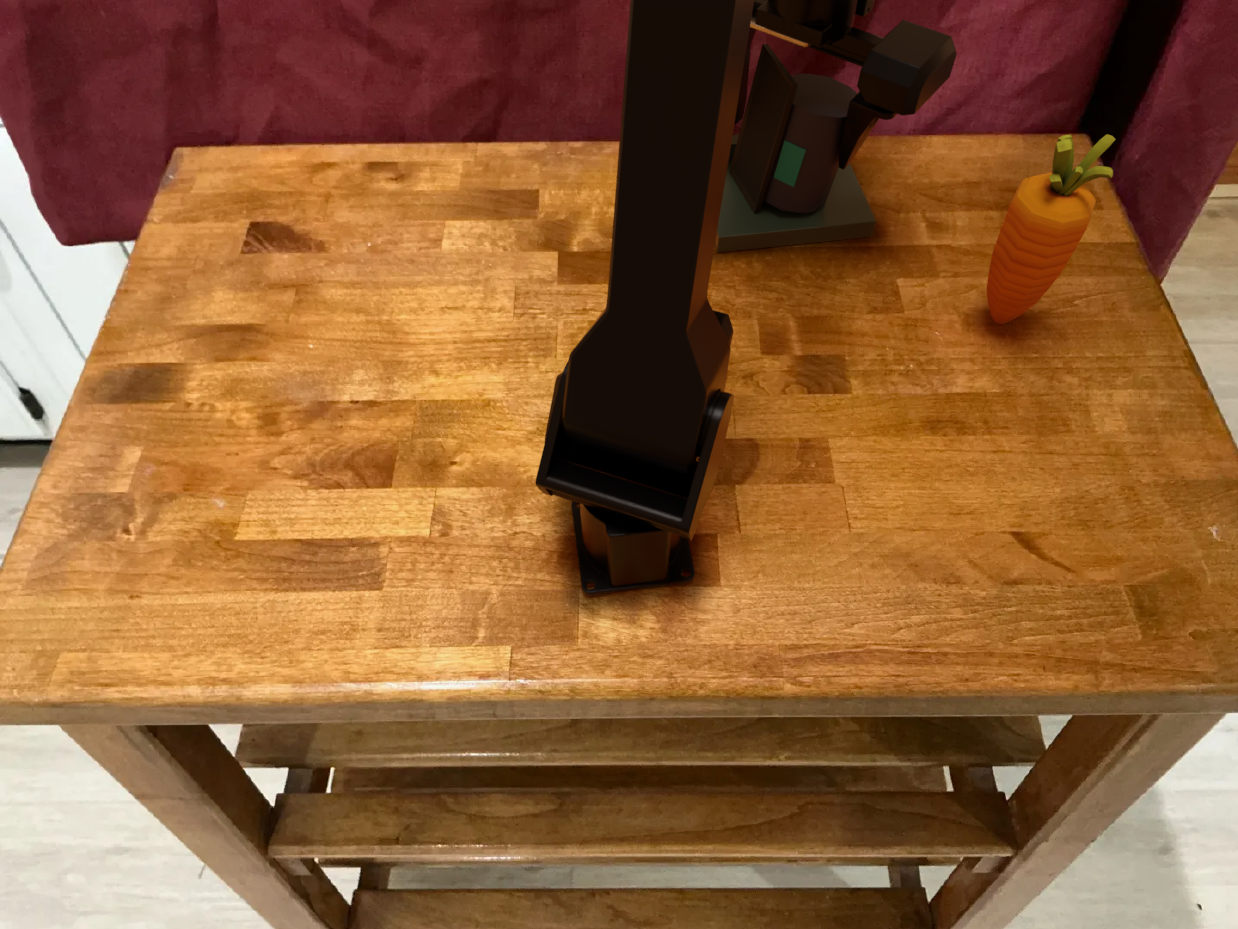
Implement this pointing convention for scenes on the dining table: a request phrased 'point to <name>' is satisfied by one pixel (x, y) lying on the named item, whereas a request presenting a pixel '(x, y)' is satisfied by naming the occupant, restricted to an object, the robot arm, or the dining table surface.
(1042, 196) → the carrot
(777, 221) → the dark grey square base
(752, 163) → the speaker
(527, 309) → the dining table surface
